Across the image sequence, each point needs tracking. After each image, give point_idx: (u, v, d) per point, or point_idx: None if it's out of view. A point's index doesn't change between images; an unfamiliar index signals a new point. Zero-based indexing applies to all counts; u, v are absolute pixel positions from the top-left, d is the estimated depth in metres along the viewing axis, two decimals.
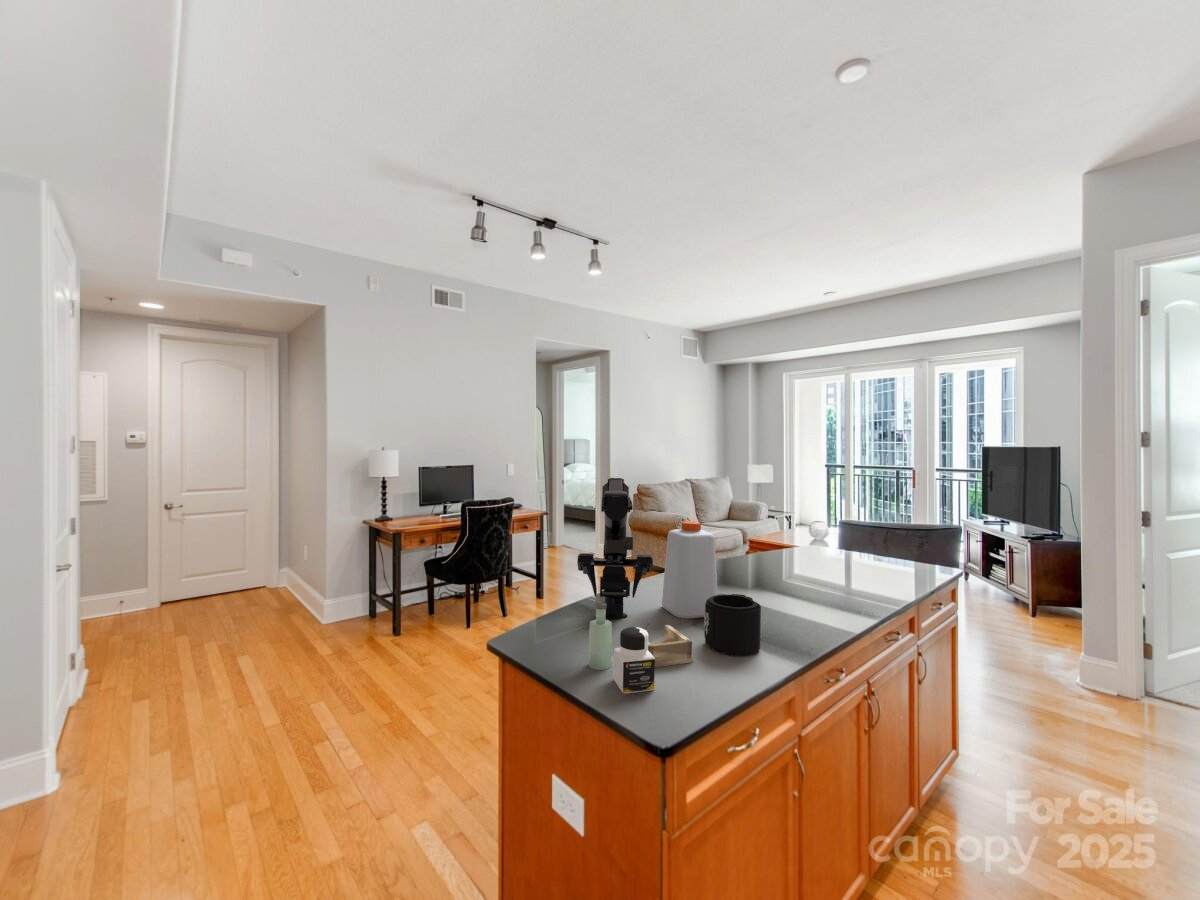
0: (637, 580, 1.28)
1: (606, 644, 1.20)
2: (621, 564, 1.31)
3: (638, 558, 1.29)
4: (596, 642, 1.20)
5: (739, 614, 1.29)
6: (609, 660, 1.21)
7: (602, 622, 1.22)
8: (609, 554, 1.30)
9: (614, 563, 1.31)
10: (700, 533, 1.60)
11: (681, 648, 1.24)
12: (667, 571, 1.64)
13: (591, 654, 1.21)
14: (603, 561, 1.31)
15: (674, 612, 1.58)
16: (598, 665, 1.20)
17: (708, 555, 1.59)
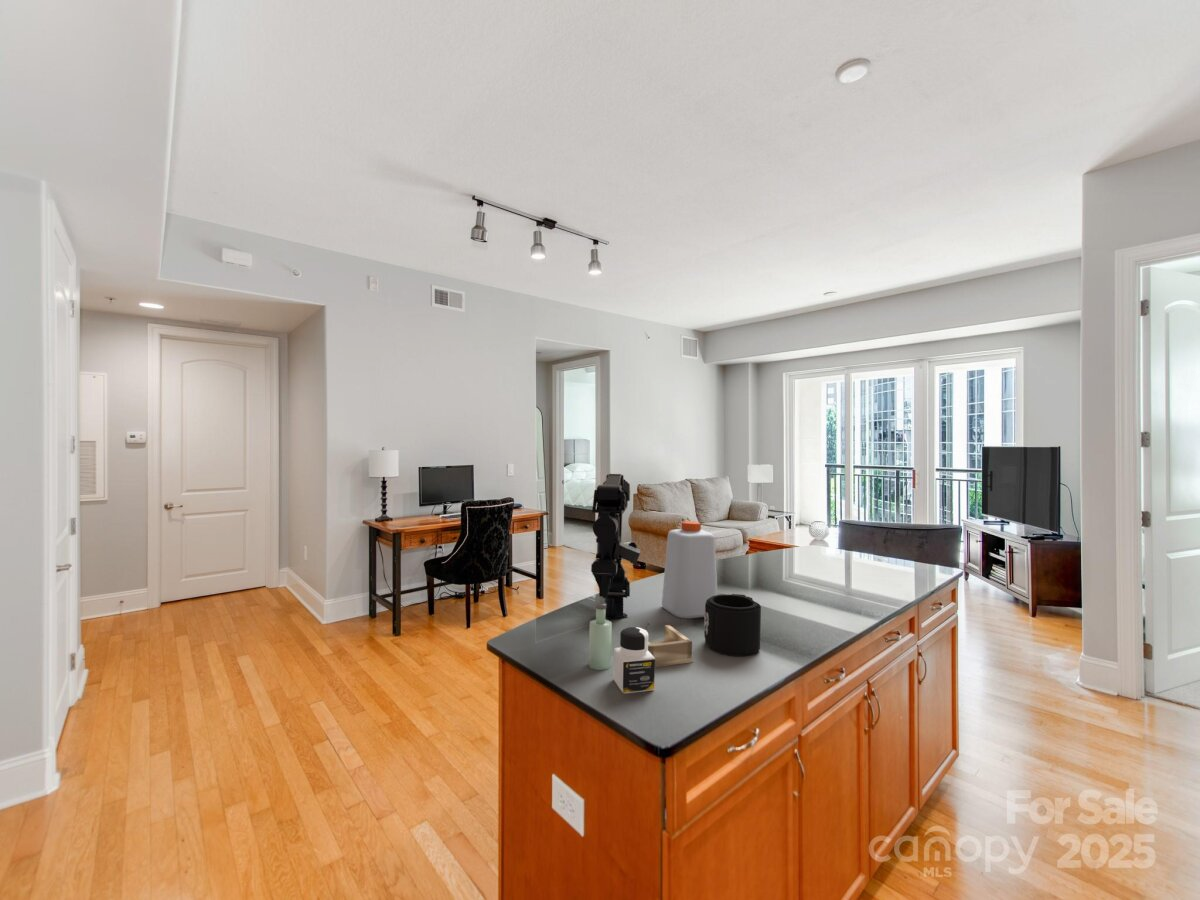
0: None
1: (606, 644, 1.20)
2: None
3: None
4: (596, 642, 1.20)
5: (739, 614, 1.29)
6: (609, 660, 1.21)
7: (602, 622, 1.22)
8: None
9: None
10: (700, 533, 1.60)
11: (681, 648, 1.24)
12: (667, 571, 1.64)
13: (591, 654, 1.21)
14: None
15: (674, 612, 1.58)
16: (598, 665, 1.20)
17: (708, 555, 1.59)
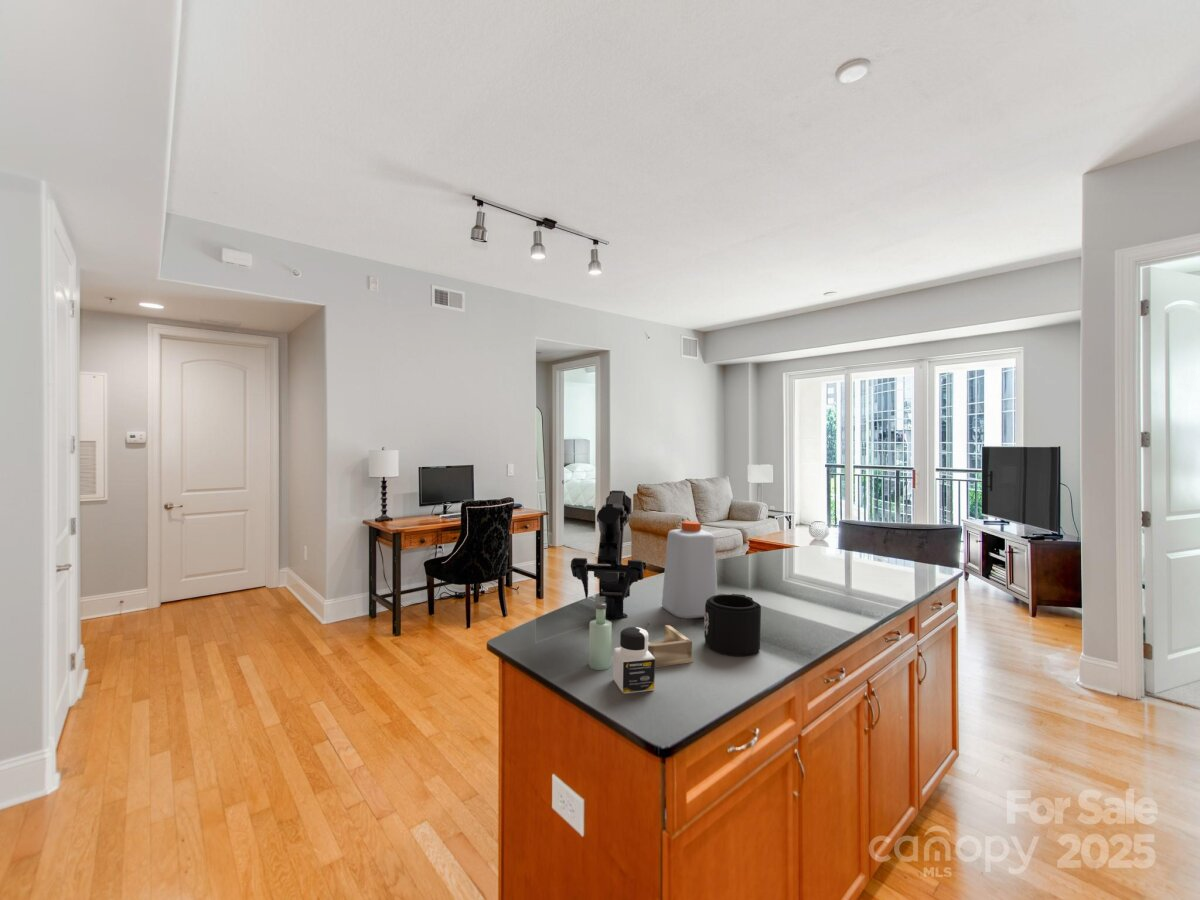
0: None
1: (606, 644, 1.20)
2: None
3: None
4: (596, 642, 1.20)
5: (739, 614, 1.29)
6: (609, 660, 1.21)
7: (602, 622, 1.22)
8: None
9: None
10: (700, 533, 1.60)
11: (681, 648, 1.24)
12: (667, 571, 1.64)
13: (591, 654, 1.21)
14: None
15: (674, 612, 1.58)
16: (598, 665, 1.20)
17: (708, 555, 1.59)
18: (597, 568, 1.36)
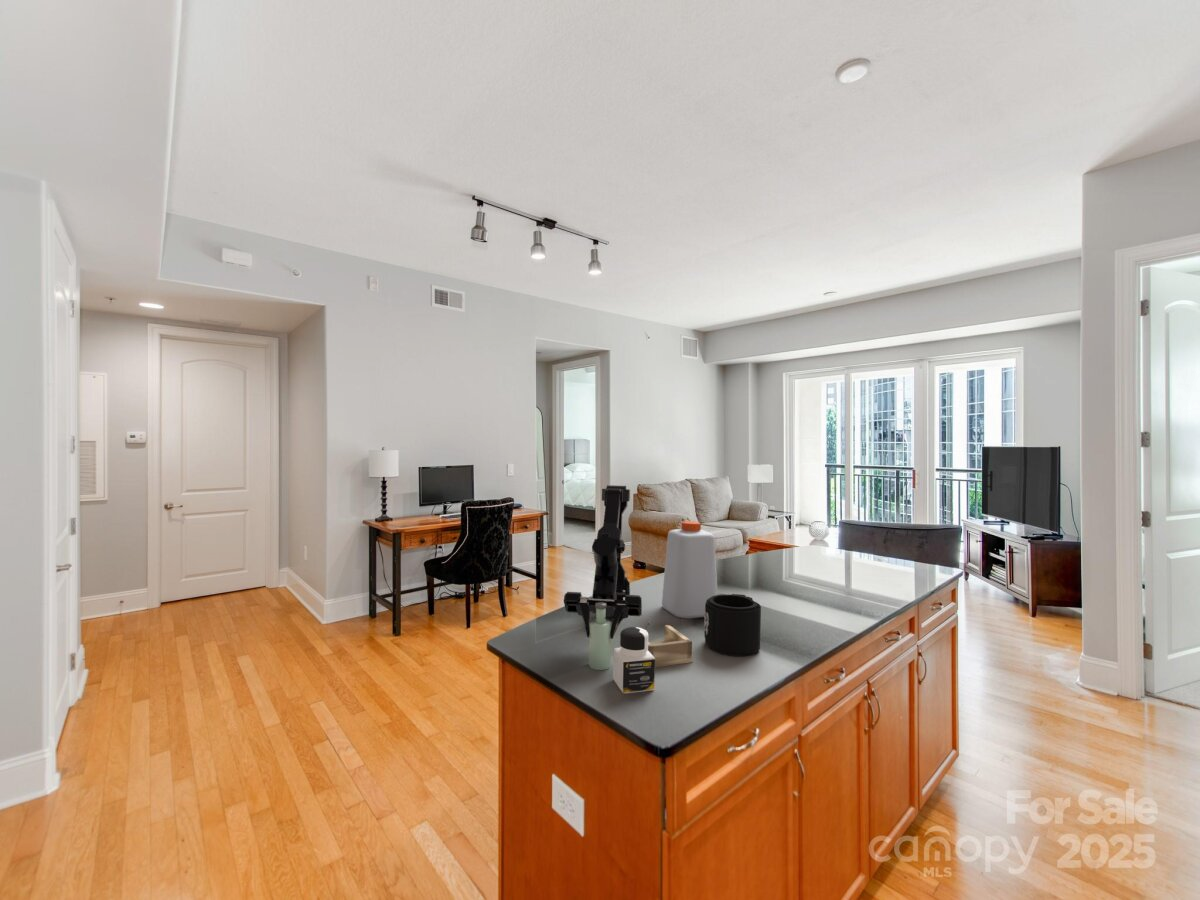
0: None
1: (606, 644, 1.20)
2: None
3: None
4: (596, 642, 1.20)
5: (739, 614, 1.29)
6: (609, 660, 1.21)
7: (602, 622, 1.22)
8: None
9: None
10: (700, 533, 1.60)
11: (681, 648, 1.24)
12: (667, 571, 1.64)
13: (591, 654, 1.21)
14: None
15: (674, 612, 1.58)
16: (598, 665, 1.20)
17: (708, 555, 1.59)
18: (592, 603, 1.27)
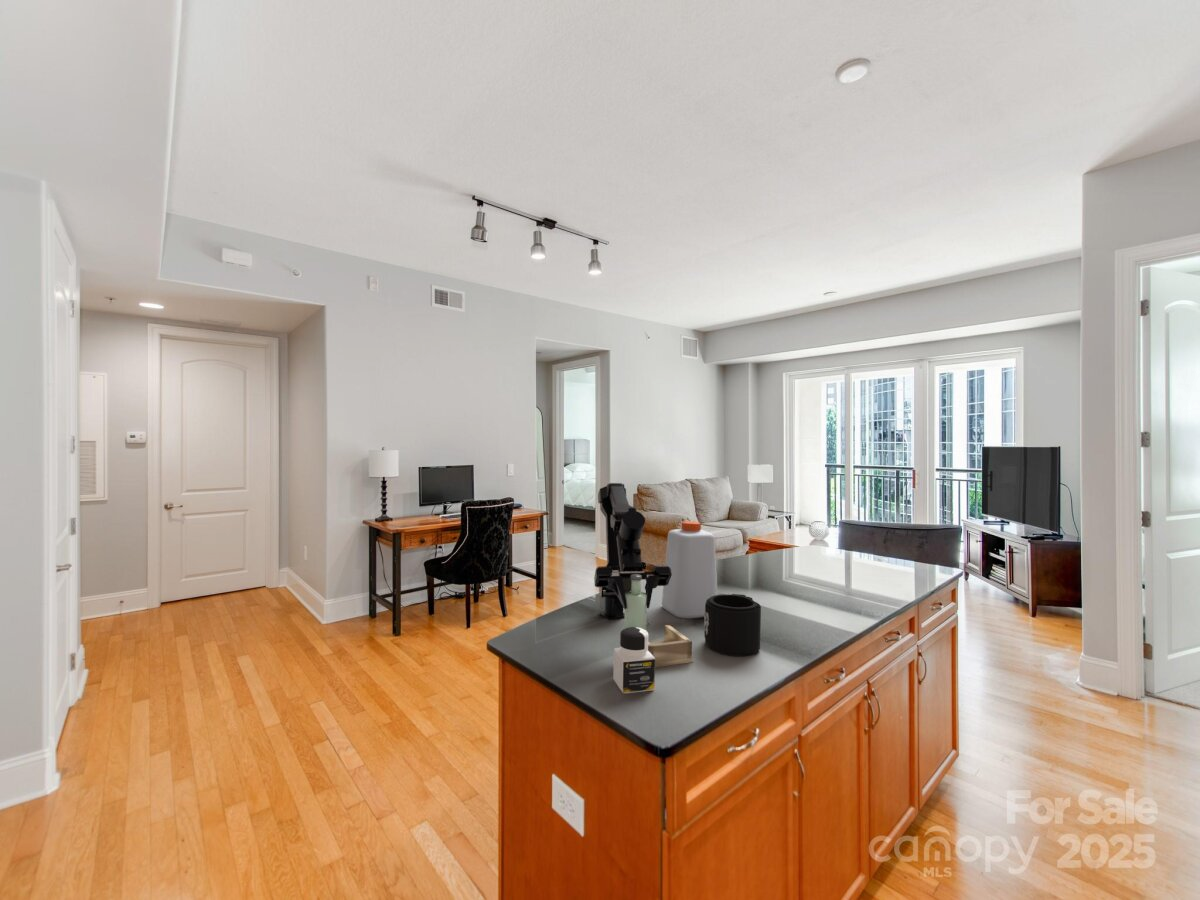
0: None
1: (643, 614, 1.24)
2: None
3: None
4: (634, 613, 1.23)
5: (739, 614, 1.29)
6: (645, 629, 1.25)
7: (638, 593, 1.24)
8: None
9: None
10: (700, 533, 1.60)
11: (681, 648, 1.24)
12: None
13: (629, 625, 1.23)
14: None
15: (674, 612, 1.58)
16: None
17: (708, 555, 1.59)
18: (622, 576, 1.29)
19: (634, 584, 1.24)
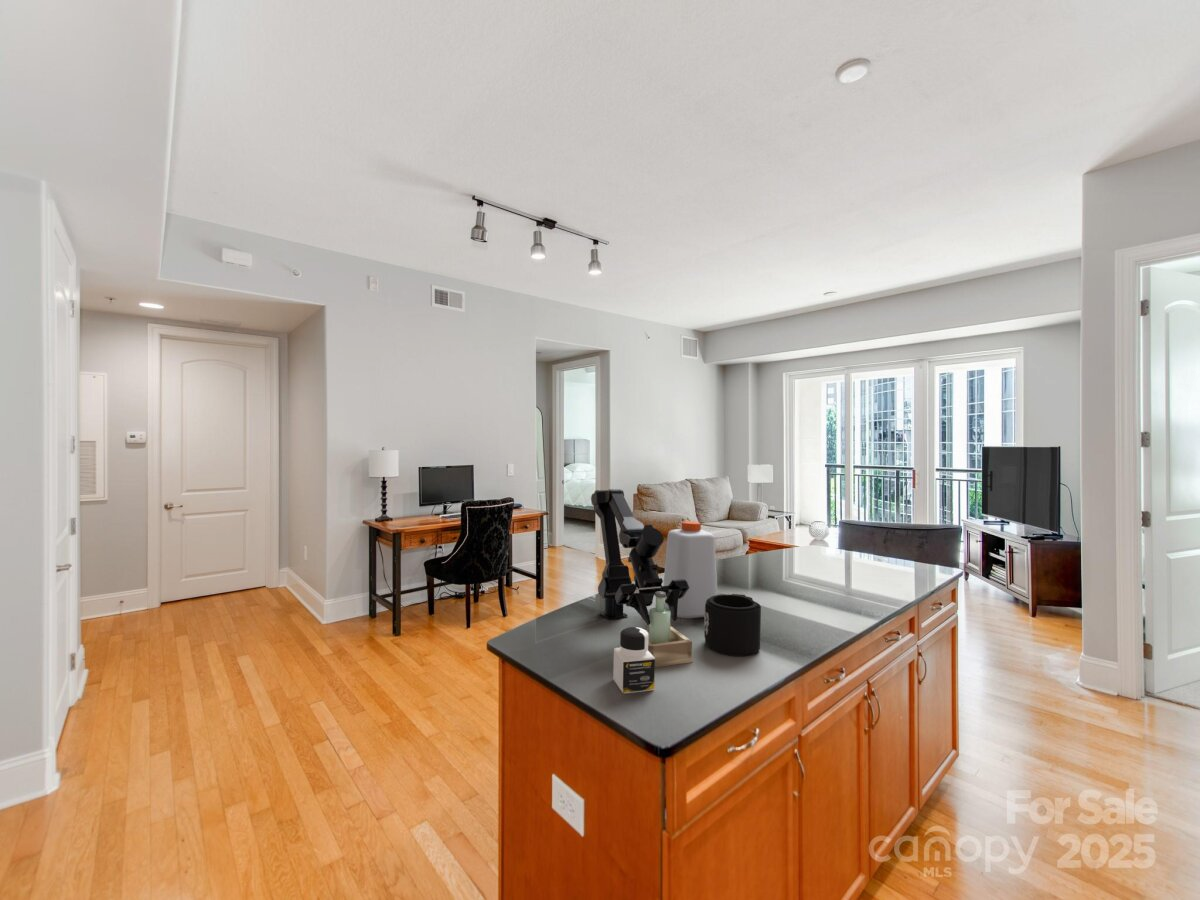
0: None
1: (669, 630, 1.28)
2: None
3: None
4: (661, 629, 1.27)
5: (739, 614, 1.29)
6: None
7: (663, 609, 1.28)
8: None
9: None
10: (700, 533, 1.60)
11: (681, 648, 1.24)
12: (667, 571, 1.64)
13: (656, 641, 1.27)
14: None
15: None
16: None
17: (708, 555, 1.59)
18: (644, 592, 1.32)
19: (659, 601, 1.28)
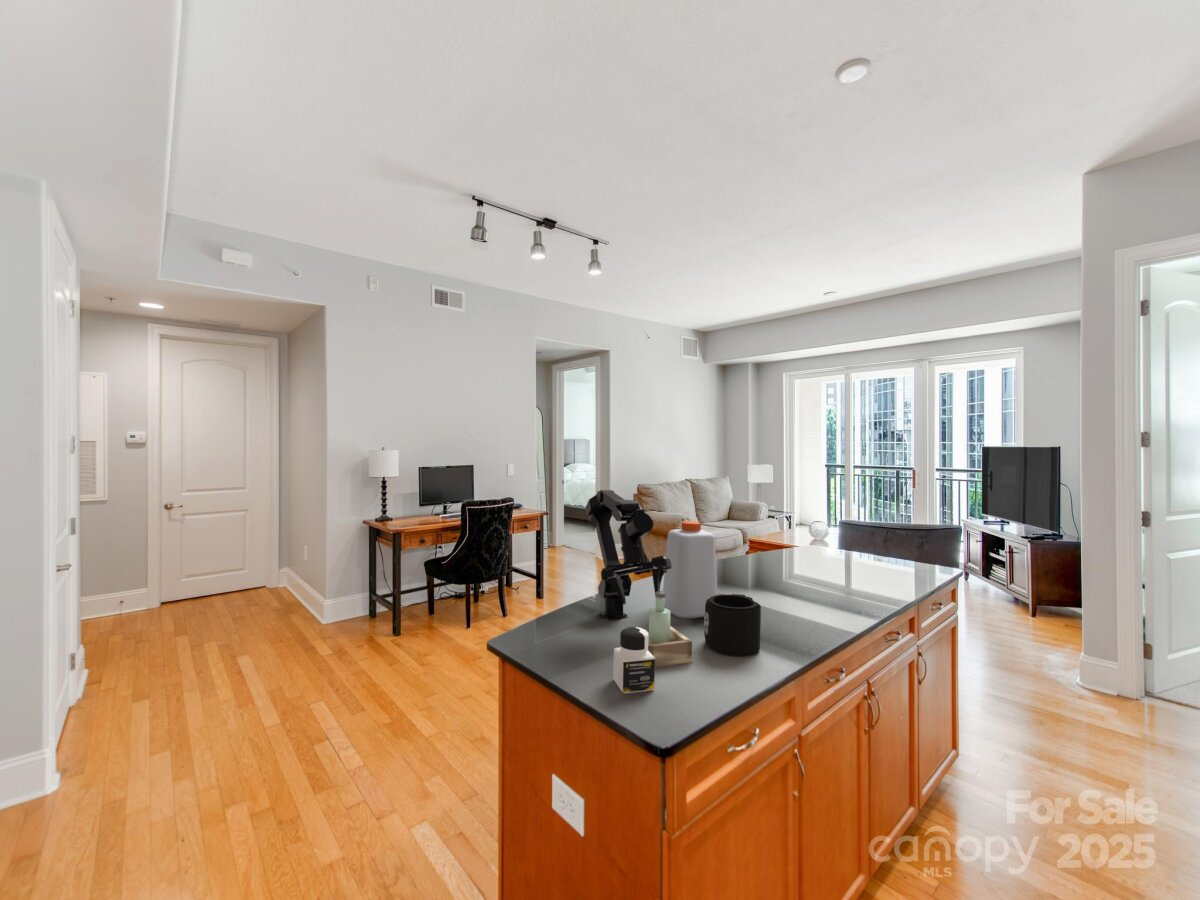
0: None
1: (669, 630, 1.28)
2: None
3: None
4: (661, 629, 1.27)
5: (739, 614, 1.29)
6: None
7: (663, 609, 1.28)
8: None
9: None
10: (700, 533, 1.60)
11: (681, 648, 1.24)
12: (667, 571, 1.64)
13: (656, 641, 1.27)
14: None
15: (674, 612, 1.58)
16: None
17: (708, 555, 1.59)
18: (626, 571, 1.42)
19: (659, 601, 1.28)
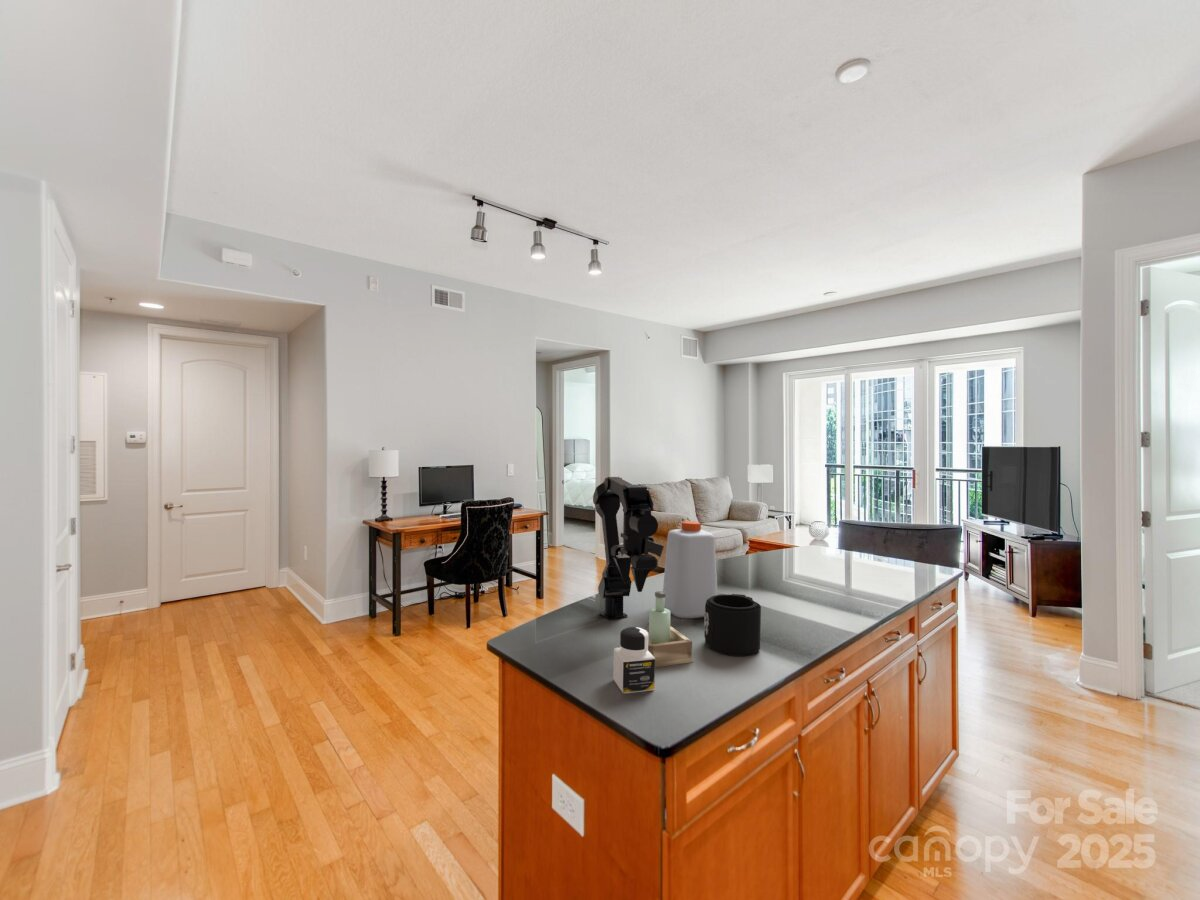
0: None
1: (669, 630, 1.28)
2: None
3: None
4: (661, 629, 1.27)
5: (739, 614, 1.29)
6: None
7: (663, 609, 1.28)
8: None
9: None
10: (700, 533, 1.60)
11: (681, 648, 1.24)
12: (667, 571, 1.64)
13: (656, 641, 1.27)
14: None
15: (674, 612, 1.58)
16: None
17: (708, 555, 1.59)
18: None
19: (659, 601, 1.28)
